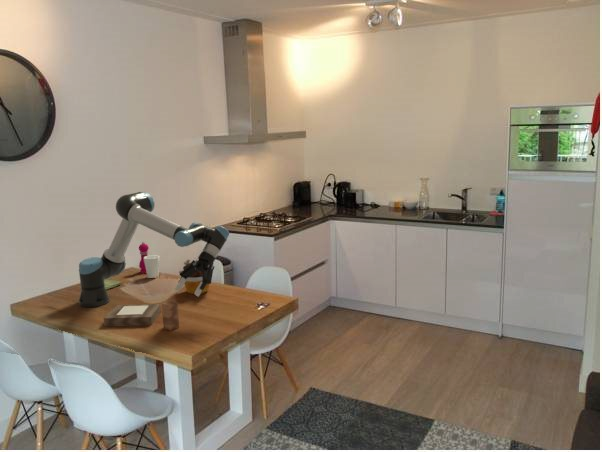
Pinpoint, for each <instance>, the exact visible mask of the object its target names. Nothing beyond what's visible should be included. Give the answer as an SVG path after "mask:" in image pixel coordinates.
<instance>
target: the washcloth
mask: <svg viewBox="0 0 602 452" xmlns="http://www.w3.org/2000/svg"><path fill="white" fill-rule="evenodd" d="M120 284H121V285H122V282H121V281H118V280H115V279H110V278H107V279H105V280H104V285H105V289H106V291H108V290H110V288H111V289H113V288H115V287H118V286H120ZM107 289H108V290H107Z"/></svg>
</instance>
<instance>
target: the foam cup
mask: <svg viewBox="0 0 602 452" xmlns="http://www.w3.org/2000/svg"><path fill="white" fill-rule="evenodd" d="M160 258H161V257H160V255H157V254H153V255H152V254H150V255H148V256H145V257H144V263H145V267H146V272H147V273H146V274H147V279H148V278H153V277H156V276H158V277H159V275H160V273H159V271H160Z"/></svg>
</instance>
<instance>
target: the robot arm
mask: <svg viewBox="0 0 602 452" xmlns="http://www.w3.org/2000/svg"><path fill="white" fill-rule="evenodd" d="M115 203H116V204H115V209H116V210H115V211H116V212H117V215H118V216H119V217H121V218H122V220H121V221H120V224H119V226H118V228H117V230H116V232H115V233H114V234H115V235H114V236H113V239H112V241H111V244H110V246H109V247H108V249H105V250H104V252H103V253H102V256H101V257H97V256H94V257H93V256H92V257H90V258H89V257H88V258H84V259H83V260H81V261H79V264H78V274H79V275H78V276H79V280H80V294H79V298H78V306H80V307H83V308H93V307H94V308H95V307H100V306H103V305H106V304H108V303H109V302H110V296H109V293H108V292H107V291H108V290H106V289H105V285H104V280H105V279H110V278H112V277H113V278H114V277H115V276H118V275H120V274H121V273H123V272H124V270H125V268H126V263H127V262H126V256H125V254H126V251H127V249H128V247H129V245H130V243H131V241H132V239H133V237H134V236H135V233H136V230H137V229H138V227H139V225H141V226H142V227H145V228H146V229H147V228H148V229H150V230H151V231H154V232H156V233H159V234H161V235H162V236H164V237H167V238H169V239H171V240H174V243H175V244H176V246H177V247H181V248H184V247H189V246H190V245H193V244H195V243H197V242H201V241H202V242H204V243H206V244H205V245H204V247H203V249H202V251H201V252H200V254H199V255H198V259H197V260H198V261H197V262H195V261H196V260H194V259H193V260H192V261H191V262H190V263H191V264H190V265H189V266H188V267H186V268H185V269H182V270H183V271H182V272H181V273H179V276H181V277H180V279H179V280H178V283H177V285H176V286H175V288H174V290H176V291H178V292H181V290H182V288H183V287H184V286H185V284H184V283H185V282H186V278H188V277H189V276H191V275H192V274H194V273H195V272H202V279H203V280H202V282H200V284H199V286H198V288H197V289H196V291H195V293H194V294H193V295H195V296H197V297H198V298H199V297H200V295H201V294H200V293H201V292H202V290H203V289H204V287H205V286H206V285H207V284H209V285H211V284H212V279H213V274H214V270H215V266H214V264H213V263H214V262H215V260H216V259H217V256H218V255H219V253H220V252H221V250H222V248H223V247H224V245H225V243H226V242H227V240H228V238H229V236H230V231H229V230H228V229H227V228H226V227H224V226H222V225H217V226H216V227H215V228H214V227H213V228H212V227H209V226H206V225H205V224H202V223H199V222H192V223H191V224H190V225H189V227H188V228H186V227H184V226H182V225H181V224H180V225H179V224H177V223H176V222H173V221H172V220H171V221H170V220H169V219H167V218H164V217H162V216H160V215H157V214H155V213H153V210H154V209H155V201H154V198H153V196H152V195H151V194H150V193H148V192H146V191H138V192H134V193H130V194H124V195H122V196H120V197H119V198H118V199H117V201H116V202H115ZM212 264H213V265H212ZM195 268H196V269H195ZM207 269H208V272H207Z"/></svg>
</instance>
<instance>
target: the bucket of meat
mask: <svg viewBox="0 0 602 452" xmlns="http://www.w3.org/2000/svg"><path fill="white" fill-rule="evenodd" d="M198 260H199V259H195V260H194V261H195V262H197V261H198ZM190 261H191V260H190V259H189V258H187V259H186V261H184V262H183V265H184V266H182V268H183V269H180V270H179V271H178V274H180V273H181V272H182V271H183V270H184V269H185V268H186V267H188V266H189V265H190V264H191V262H190ZM212 265H213V266H214V262H213V264H212ZM195 269H196V268H195ZM207 272H208V269H207ZM202 280H203V279H202V272H195V273H194V274H192V275H191V276H189V277H188V278H186V282H185V283H184V287H185V291H186V292H187V293H188V294H190V295H195V294H194V293H195V291H196V289H197V288H198V286H199V284H200V282H202ZM209 287H210V284H207V285H206V286H205V287H204V289H203V290H202V292H201V293H200V295H201V294H202V295H203V294H204V293H207V292H208V290H209Z"/></svg>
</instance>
